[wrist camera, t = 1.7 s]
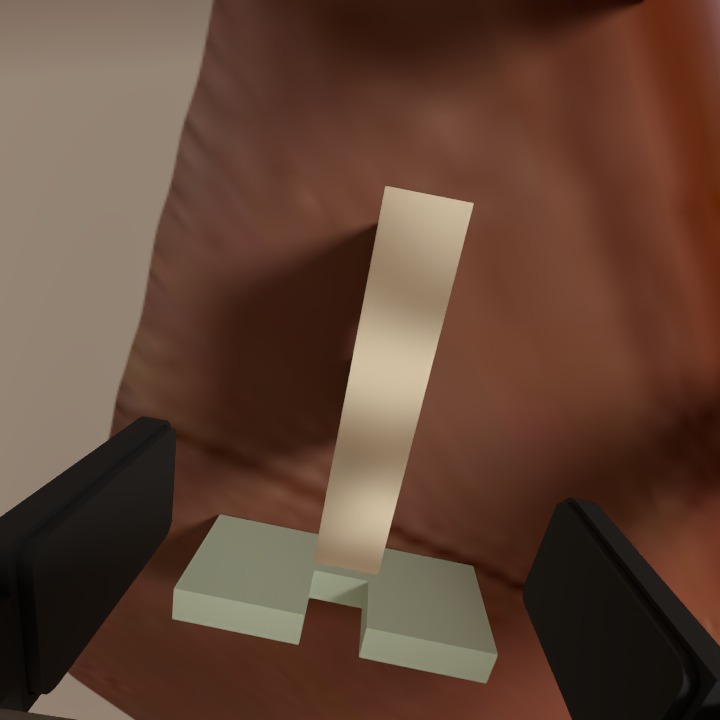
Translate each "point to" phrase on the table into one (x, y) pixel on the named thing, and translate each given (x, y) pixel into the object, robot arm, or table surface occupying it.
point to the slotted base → (338, 598)
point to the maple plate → (389, 371)
